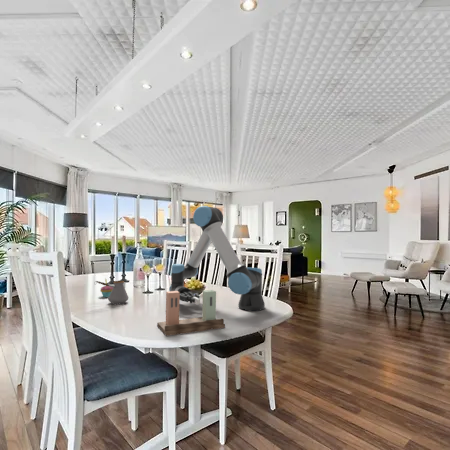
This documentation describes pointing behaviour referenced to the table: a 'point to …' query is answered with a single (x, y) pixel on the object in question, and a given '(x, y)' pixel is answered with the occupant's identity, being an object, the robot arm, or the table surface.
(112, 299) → the coffee pot
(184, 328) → the wooden board
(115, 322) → the table surface
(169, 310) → the salmon orange rectangular block
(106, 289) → the cupcake
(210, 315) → the pale green block
